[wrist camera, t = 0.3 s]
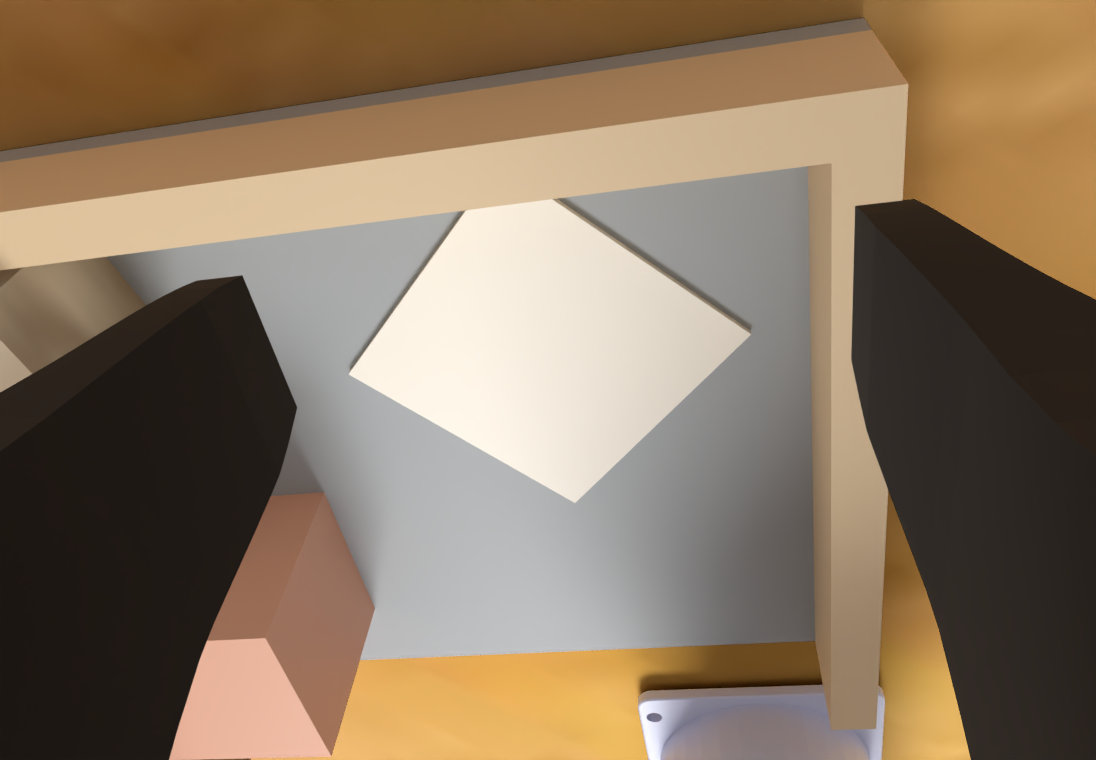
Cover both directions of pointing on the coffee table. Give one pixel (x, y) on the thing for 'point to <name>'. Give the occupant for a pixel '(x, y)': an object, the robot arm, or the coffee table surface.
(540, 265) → the pad
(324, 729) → the terracotta cube
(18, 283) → the ash block
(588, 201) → the arena board
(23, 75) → the coffee table surface
